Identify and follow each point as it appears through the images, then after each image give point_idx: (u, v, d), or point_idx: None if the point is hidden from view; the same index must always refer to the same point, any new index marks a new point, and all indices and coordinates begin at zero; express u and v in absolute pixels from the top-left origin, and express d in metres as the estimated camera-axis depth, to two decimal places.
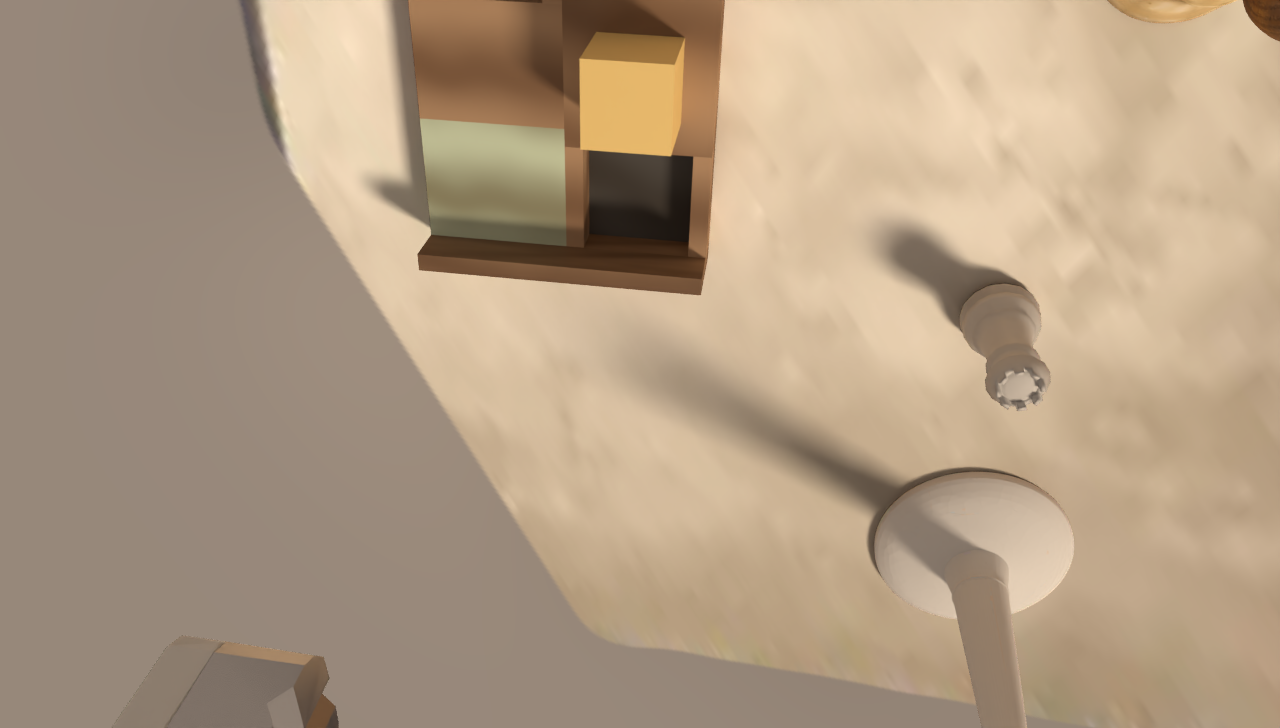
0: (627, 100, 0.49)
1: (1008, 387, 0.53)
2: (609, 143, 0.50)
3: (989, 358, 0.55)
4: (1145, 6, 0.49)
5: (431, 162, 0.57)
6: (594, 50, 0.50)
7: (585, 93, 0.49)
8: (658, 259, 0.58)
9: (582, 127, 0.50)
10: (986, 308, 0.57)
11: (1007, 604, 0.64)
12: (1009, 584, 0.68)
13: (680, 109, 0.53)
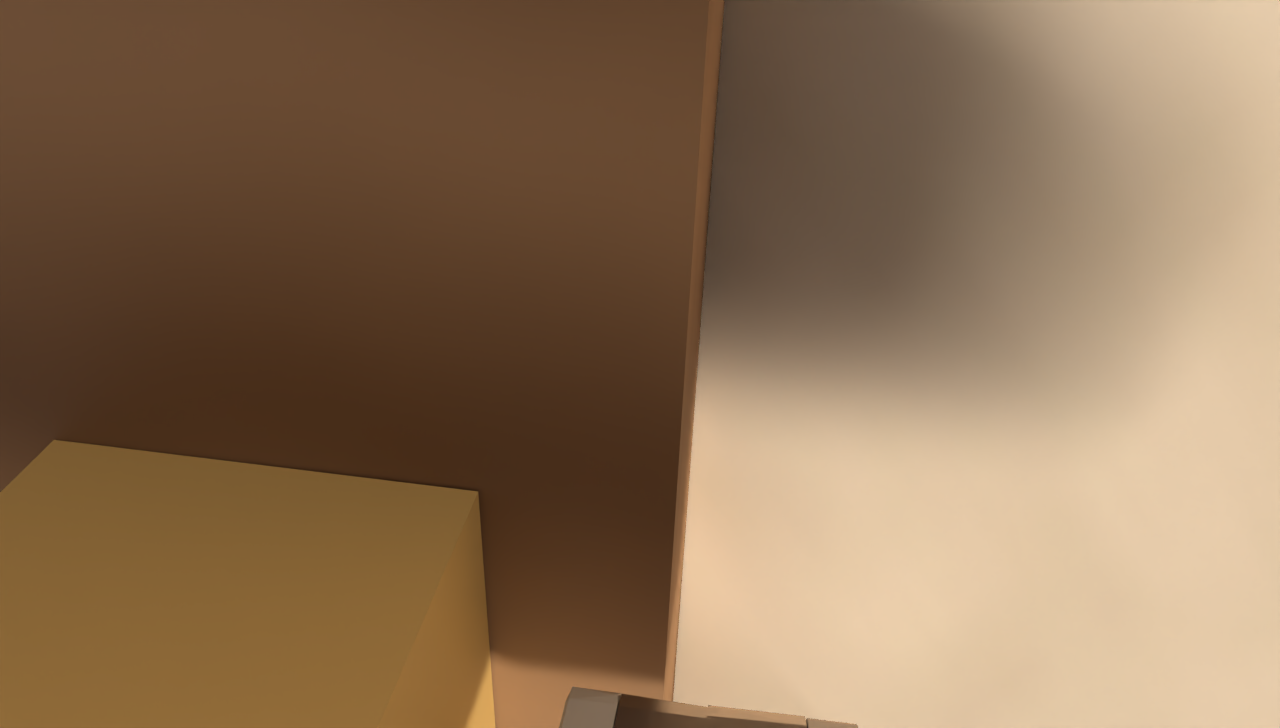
0: None
1: None
2: None
3: None
4: None
5: None
6: None
7: None
8: None
9: None
10: None
11: None
12: None
13: None
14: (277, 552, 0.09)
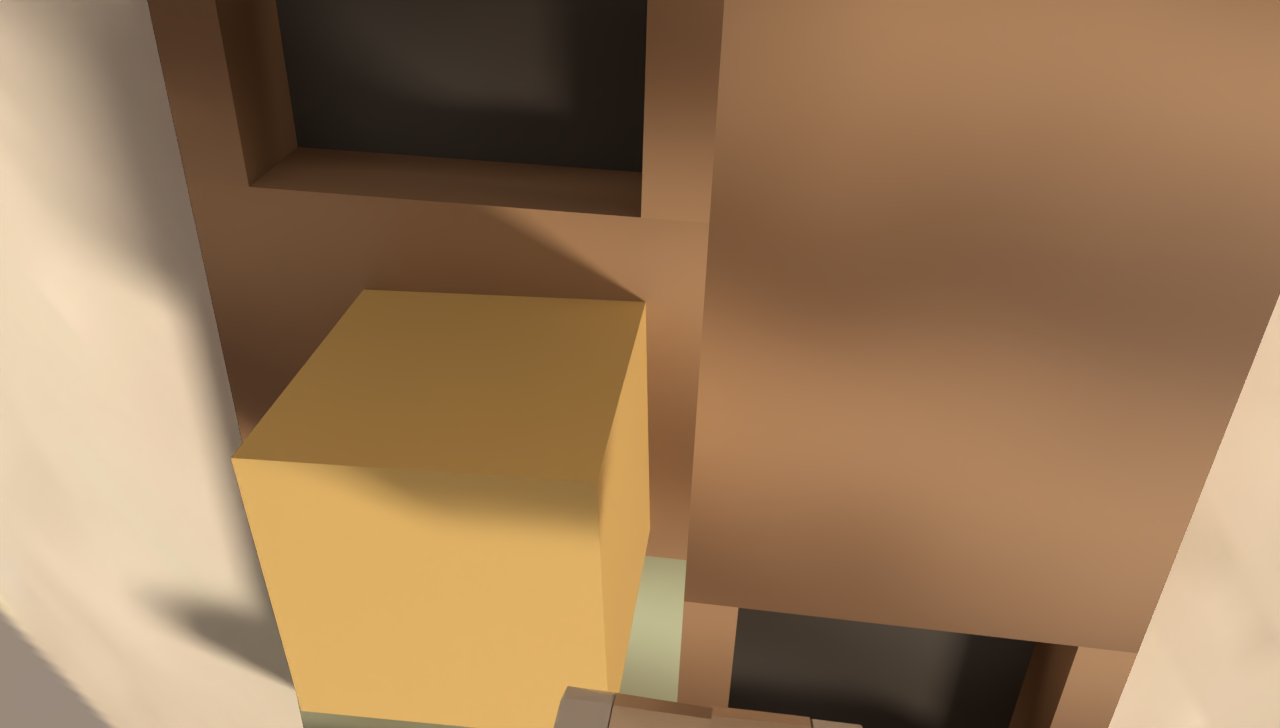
0: (434, 587, 0.13)
1: None
2: (395, 700, 0.14)
3: None
4: None
5: None
6: (312, 396, 0.14)
7: (279, 562, 0.13)
8: None
9: (293, 656, 0.14)
10: None
11: None
12: None
13: (644, 505, 0.17)
14: (529, 334, 0.15)
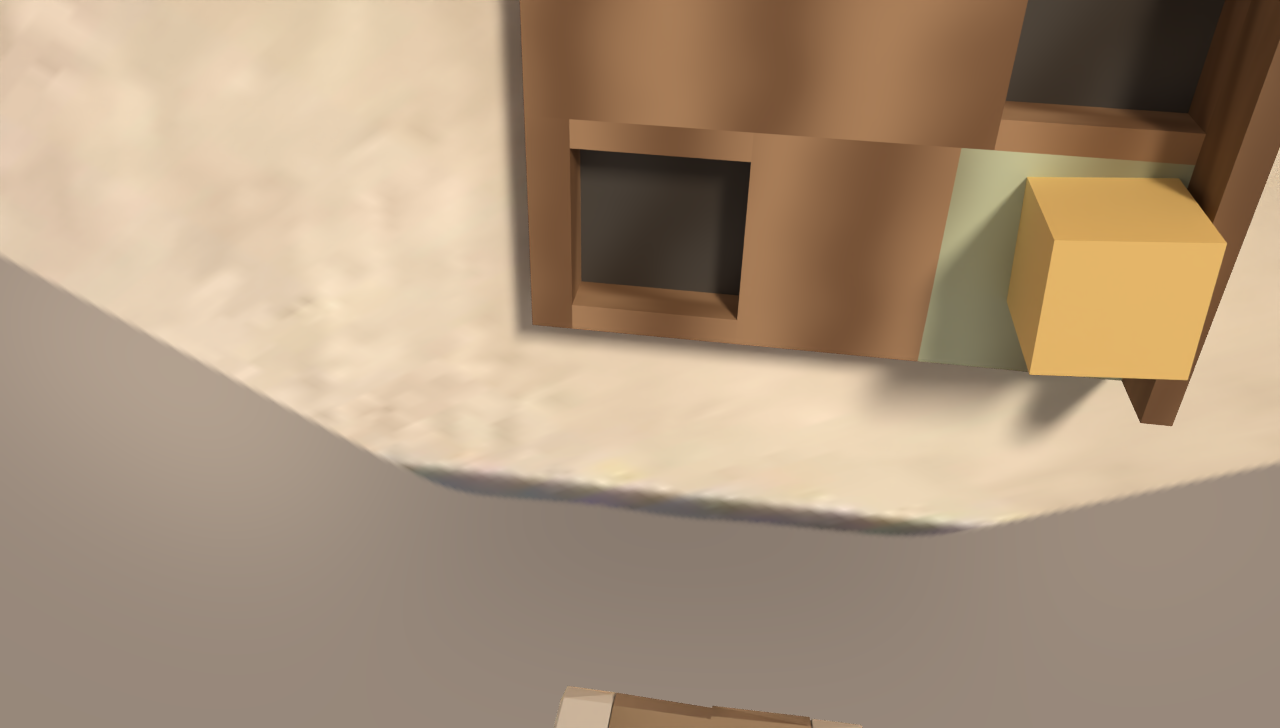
0: (1109, 310, 0.30)
1: None
2: (1184, 337, 0.30)
3: None
4: None
5: (992, 357, 0.36)
6: (1023, 337, 0.32)
7: (1088, 368, 0.31)
8: None
9: (1148, 375, 0.31)
10: None
11: None
12: None
13: (1150, 185, 0.32)
14: (1025, 237, 0.32)
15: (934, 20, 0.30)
